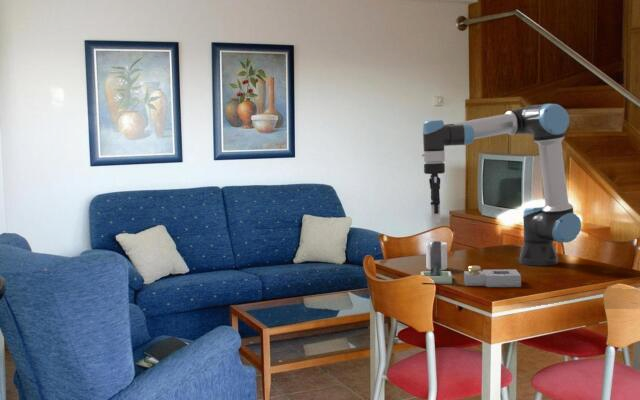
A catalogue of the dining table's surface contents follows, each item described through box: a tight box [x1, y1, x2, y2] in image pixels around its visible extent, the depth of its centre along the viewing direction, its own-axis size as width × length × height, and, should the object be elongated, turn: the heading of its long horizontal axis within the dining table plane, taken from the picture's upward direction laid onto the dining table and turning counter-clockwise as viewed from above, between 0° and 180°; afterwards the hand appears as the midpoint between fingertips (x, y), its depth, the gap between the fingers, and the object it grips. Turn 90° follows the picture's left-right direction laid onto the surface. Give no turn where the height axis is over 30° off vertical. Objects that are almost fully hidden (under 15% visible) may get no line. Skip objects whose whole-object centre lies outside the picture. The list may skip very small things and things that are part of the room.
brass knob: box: [467, 265, 482, 274], centre depth 275 cm, size 4×4×5 cm
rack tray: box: [420, 270, 453, 285], centre depth 283 cm, size 11×11×2 cm
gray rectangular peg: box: [429, 240, 442, 276], centre depth 282 cm, size 4×4×14 cm
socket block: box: [463, 268, 522, 288], centre depth 275 cm, size 19×12×4 cm, turn 84°
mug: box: [425, 241, 448, 271], centre depth 305 cm, size 12×8×10 cm
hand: (435, 220), depth 281 cm, fingers open, 13 cm apart
